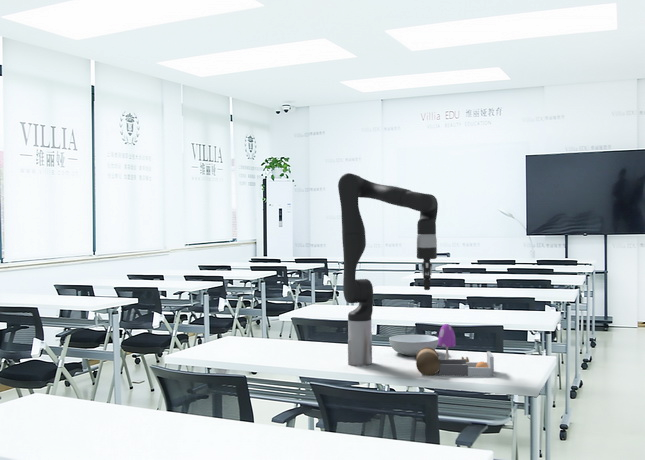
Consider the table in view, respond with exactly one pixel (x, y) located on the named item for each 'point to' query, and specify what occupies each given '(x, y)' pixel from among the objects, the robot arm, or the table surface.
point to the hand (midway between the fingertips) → (426, 288)
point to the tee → (466, 359)
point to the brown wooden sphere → (427, 361)
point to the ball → (482, 365)
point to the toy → (446, 337)
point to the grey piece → (466, 367)
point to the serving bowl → (412, 343)
